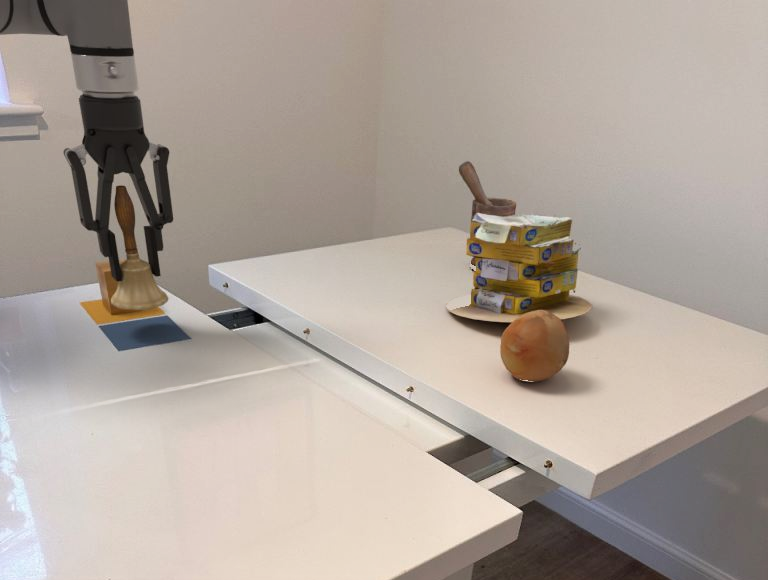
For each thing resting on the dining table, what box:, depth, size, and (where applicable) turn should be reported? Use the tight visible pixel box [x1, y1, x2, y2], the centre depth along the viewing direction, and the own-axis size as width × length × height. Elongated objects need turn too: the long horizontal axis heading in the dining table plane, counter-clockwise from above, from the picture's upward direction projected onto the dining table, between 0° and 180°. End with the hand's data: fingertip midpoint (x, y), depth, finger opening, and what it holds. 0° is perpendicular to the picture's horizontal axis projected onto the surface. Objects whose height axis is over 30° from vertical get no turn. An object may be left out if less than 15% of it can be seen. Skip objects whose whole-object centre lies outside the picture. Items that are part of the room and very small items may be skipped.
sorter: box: [79, 298, 192, 352], centre depth 114 cm, size 23×11×1 cm, turn 33°
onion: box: [499, 310, 570, 382], centre depth 102 cm, size 10×10×10 cm
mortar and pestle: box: [458, 160, 517, 266], centre depth 142 cm, size 12×9×20 cm
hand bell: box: [111, 184, 169, 310], centre depth 103 cm, size 8×8×16 cm
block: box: [95, 258, 142, 315], centre depth 116 cm, size 5×5×7 cm
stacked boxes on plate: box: [447, 211, 593, 323], centre depth 122 cm, size 25×25×17 cm
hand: (136, 275), depth 105 cm, fingers closed on hand bell, 5 cm apart
